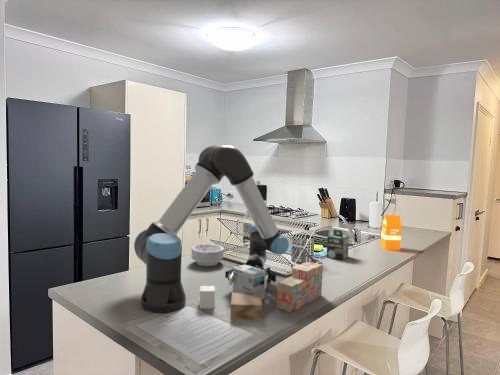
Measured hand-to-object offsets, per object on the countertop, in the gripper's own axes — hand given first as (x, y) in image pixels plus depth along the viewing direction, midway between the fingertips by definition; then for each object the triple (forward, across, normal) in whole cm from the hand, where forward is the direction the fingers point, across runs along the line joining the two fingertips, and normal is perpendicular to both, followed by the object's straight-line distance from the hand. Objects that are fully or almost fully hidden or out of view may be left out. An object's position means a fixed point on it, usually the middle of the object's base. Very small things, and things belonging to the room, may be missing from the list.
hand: (247, 283), depth 128 cm
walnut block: (+9, +1, +7) cm, 12 cm away
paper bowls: (-41, -25, +7) cm, 48 cm away
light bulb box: (-4, 0, +7) cm, 8 cm away
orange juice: (-97, +73, +7) cm, 121 cm away
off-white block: (+6, -13, +7) cm, 16 cm away
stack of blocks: (-4, +19, +7) cm, 21 cm away
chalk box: (-69, +39, +7) cm, 79 cm away
